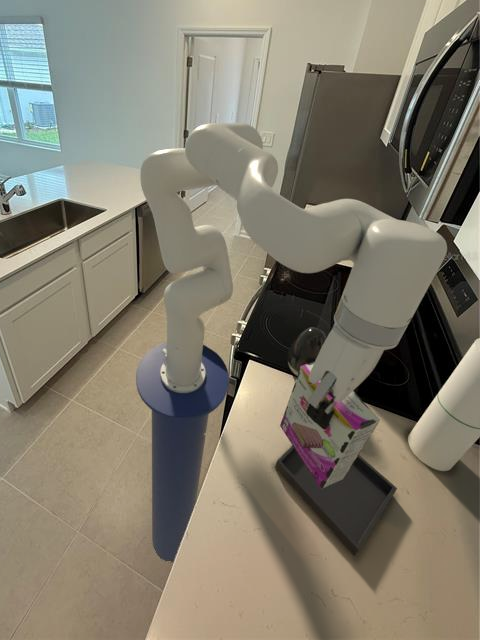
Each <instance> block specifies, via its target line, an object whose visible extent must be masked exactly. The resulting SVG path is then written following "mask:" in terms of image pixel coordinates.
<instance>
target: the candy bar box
mask: <svg viewBox="0 0 480 640" xmlns="http://www.w3.org/2000/svg"><path fill="white" fill-rule="evenodd" d="M314 363H315V362H313V363H310V364H305V365H303V366H301V367H300V370H299V373H298V376H297V375H296V379H295V381H294V384H293V387H292V389H291V390H292V391H291V393H290V396H289V399H288V402H287V405H286V407H285V410H284V414H283V416H282V418H281V422H280V424H279V427H280V428H281V430H282V431H283V433H284V434H285V436H286V437H287V439H288V441H289V442H290V443H291V446H292V445H293V446H294V448H295V450H296V451H297V453H298V454H299V456H300V457H301V459H302V460H303V462H304V463H305V465H306V466H307V468H308V470H309V471H310V473H311V474H312V476H313V477H314V479H315V480H316V482H317V484H318V485H319V487H320V488H321V489H323V488H325V487H327V486H329V485H331V484H333V483H335V482H337V481H340V480H342V479H344V477H345V476H346V474H347V472H348V470H349V469H350V467H351V466H352V464H353V463H354V461H355V459H356V458H357V456H358V454H359V455H360V453H361V451H362V450H363V448H364V447H365V445H366V443H367V441H368V440H369V438H370V436H371V435H372V434H373V432H374V430H375V429H376V427H377V426H378V425H379V422H380V420H381V419H380V418H379V416H377V415H376V413H375V412H373V410H372V409H371V408H370V407H369V406H368V405H367V404H366V403H365V402H364V401H363V399H362V398H361V397H360V396H359V395H358V394H357V392H356V393H355V392H354V391H352V392H351V393H350V394H349V395H348V396H347V397H346V398H345V399H344V400H342V401H341V402H337V403H336V405H335V406H334V408H333V411H334V414H333V416H332V418H331V420H330V422H329V424H328V427H327V428H326V429H325V430H324V429H322V428H321V427H320V426H319V425H318V424H316V423H315V422H314V421H313V420H312V419H311V418H310V417H309V416H308V415H307V414H306V411H307V409H308V406H309V404H310V403H309V402H308V399H309V397H310V396H311V395H312V393H313V392H314V390H315V389H316V388H317V386H318V385H319V383H320V381H321V380H320V381H319V382H317V383H315V384H312V383H311V382H310V381H309V374H310V372H311V369H312V367H313V365H314ZM332 388H333V387H332ZM331 399H332V397H331V396H330V395H329V394H327V396H326V397H325V398H324V400H325V401H327V402H328V403H329V402H330V401H331Z"/></svg>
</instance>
